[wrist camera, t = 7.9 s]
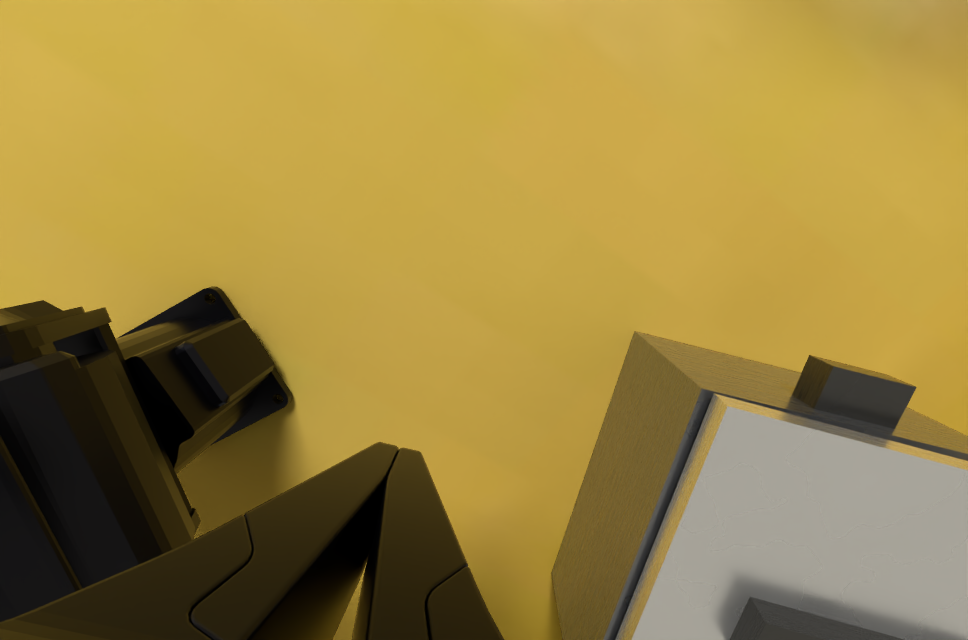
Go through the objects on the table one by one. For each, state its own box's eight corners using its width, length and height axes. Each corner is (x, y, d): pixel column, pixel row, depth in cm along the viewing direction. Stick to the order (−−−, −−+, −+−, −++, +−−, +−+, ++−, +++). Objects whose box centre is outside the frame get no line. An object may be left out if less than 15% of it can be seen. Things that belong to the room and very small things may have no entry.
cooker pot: (543, 597, 25) (563, 741, 18) (645, 298, 21) (720, 342, 14) (749, 642, 26) (842, 799, 19) (887, 360, 22) (1069, 430, 15)
